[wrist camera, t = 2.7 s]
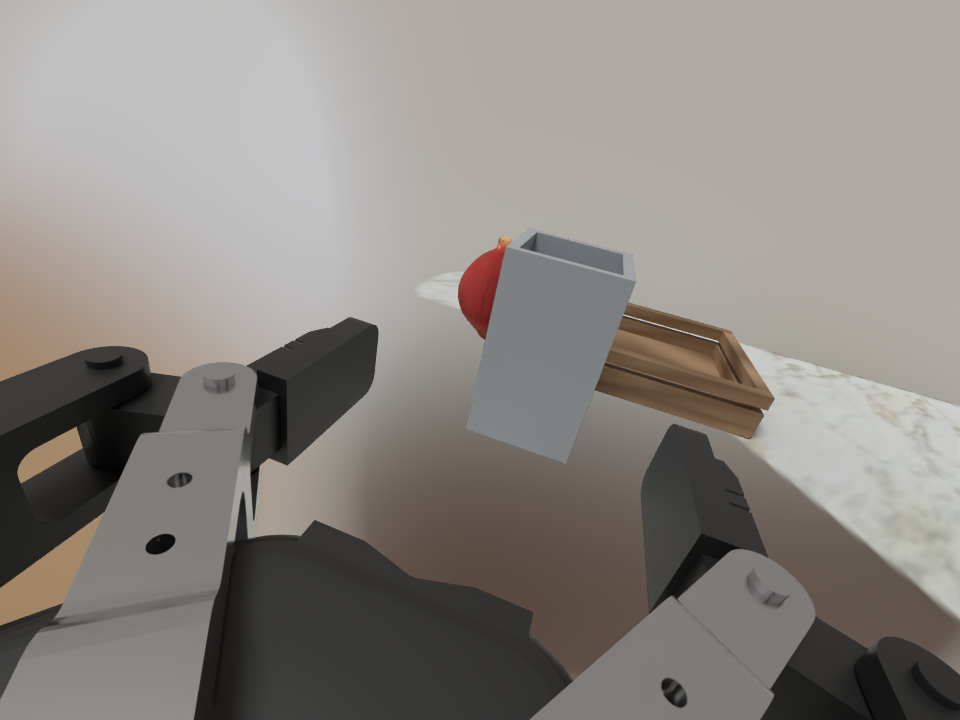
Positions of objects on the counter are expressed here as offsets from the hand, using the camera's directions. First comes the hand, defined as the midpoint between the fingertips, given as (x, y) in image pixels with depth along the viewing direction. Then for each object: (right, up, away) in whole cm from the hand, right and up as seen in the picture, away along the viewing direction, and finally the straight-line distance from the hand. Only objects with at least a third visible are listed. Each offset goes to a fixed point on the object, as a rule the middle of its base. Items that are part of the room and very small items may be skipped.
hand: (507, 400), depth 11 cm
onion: (0, +3, +22) cm, 23 cm away
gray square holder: (+2, -2, +14) cm, 14 cm away
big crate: (+13, 0, +23) cm, 26 cm away
